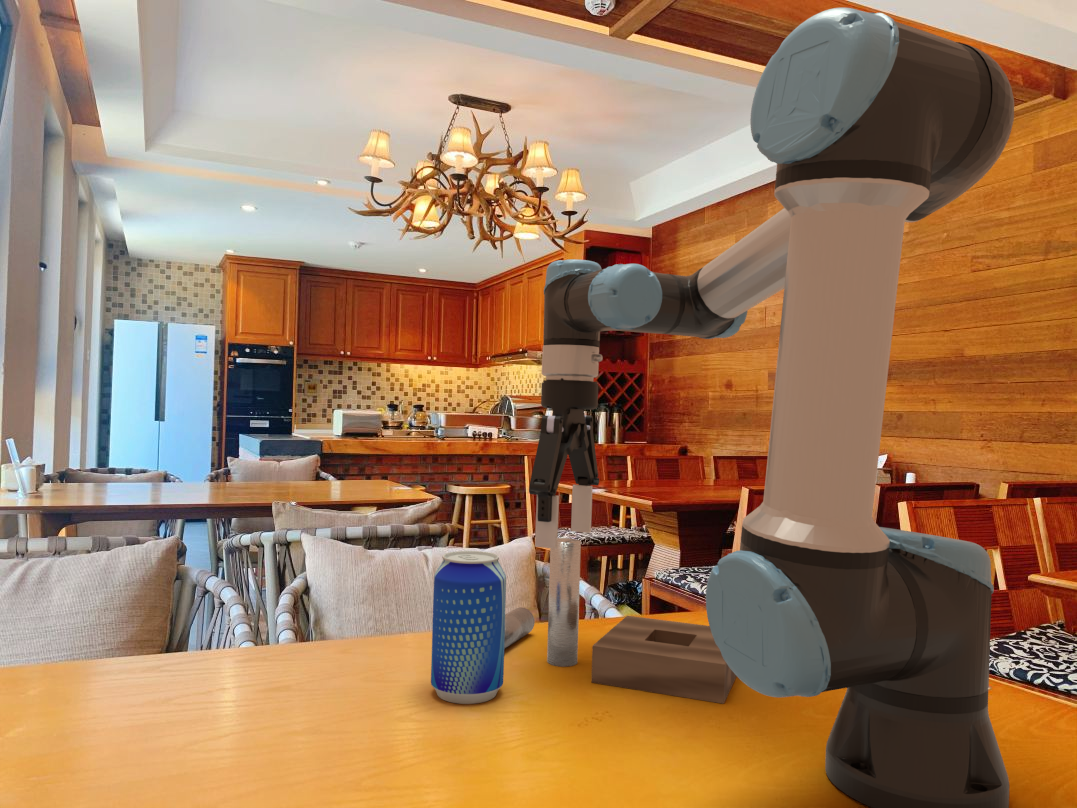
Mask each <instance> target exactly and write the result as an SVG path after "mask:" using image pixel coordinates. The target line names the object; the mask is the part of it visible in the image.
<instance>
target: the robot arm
mask: <svg viewBox="0 0 1077 808" xmlns="http://www.w3.org/2000/svg"><path fill="white" fill-rule="evenodd" d="M753 95H754V96H753V100H752V105H751V110H750V120H749V121H750V133H751V136H752V137H751V138H752V140H753V141H754V142H755V143H756V148H757V149H758V151H759V152H760V153H761V154H762V155H763V156H764V157H766V158H767V160H769V161H770V162H771V163H775V164H776V172H775V173H776V174H775V184H774V185H775V186H774V194H773V195H774V198H775V199H776V200H777V201H778V202H779V203H780V205H781V206H782V207H783V208H782V209H781V210H779V211H778V212H777V213H776V214H774V215H772V216H771V217H770V218H768V219H767V220H766V221H764V222H762V223H761V224H760V225H759V226H758V227H756V228H755V229H753V230H752V231H751V232H749V233H748V234H747V235H745V236H743V237H742V238H740V239H739V240H738V241H737V242H736V243H734V244H733V245H731V246H730V247H729V248H727V249H726V250H725V251H723V252H721V253H720V254H719V255H718V256H717V257H715V258H713V259H712V260H711V261H709V262H708V263H707V264H705V265H704V266H702V267H701V268H699V269H698V270H696V271H695V272H693V274H690V275H681V274H680V275H679V274H670V273H662V272H656V271H655V272H654V271H651V270H650V269H649V268H647V267H646V266H644V265H642V264H639V263H626V264H623V263H618V264H617V263H616V264H614V265H612V266H607V267H605V268H603V269H602V267H601V265H600V264H599V263H598V262H595V261H592V260H588V259H587V260H586V259H574V258H573V259H570V258H569V259H564V260H563V259H562V260H561V259H560V260H554V261H552V262H551V263H549V264H548V266H547V268H546V273H545V284H544V287H543V296H544V297H543V301H544V302H543V340H542V341H543V345H542V355H541V356H542V357H541V374H542V376H544V377H545V380H542V381H543V382H541V388H540V389H541V391H540V395H541V396H540V397H541V398H540V405H541V407H542V408H545V409H552V413H551V414H552V415H544V414H543V415H542V418H541V421H540V422H541V425H540V434H539V439H538V443H537V448H536V453H535V458H534V462H533V467H532V470H531V476H530V479H529V480H530V481H529V486H528V493H529V495H536V506H535V507H536V508H535V511H536V512H535V531H534V532H535V533H534V535H535V536H534V539H535V540H534V547H535V548H546V549H550V548H552V549H556V548H557V541H558V538H559V537H558V536H559V534H558V533H559V512H560V511H559V506H560V495H556V494H557V491H558V488H559V484H560V482H561V478H562V474H563V471H564V469H565V466H566V462H567V459H568V458H569V463H570V466H571V469H572V470H571V471H572V474H573V478H574V481H575V484H572V489H571V490H572V491H571V492H572V493H571V499H572V500H571V517H570V518H571V522H570V524H571V525H570V532H575V533H585V534H590V533H592V515H593V514H592V512H593V486H599V484H600V477H599V471H598V462H597V455H596V454H597V452H596V446H595V437H594V416H593V415H588V414H587V415H586V414H585V410H589V411H590V410H596V409H597V408H598V406H599V405H598V404H599V384H598V383H597V381H594V378H597V377H599V365H600V363H599V362H602V361H603V360H604V359H603V355H602V354H600V347H601V346H600V344H601V343H600V340H601V332H608V331H610V332H611V331H620V332H632V333H633V332H634V333H644V334H645V333H646V334H661V335H671V336H684V337H691V338H692V337H694V338H699V339H704V340H711V339H712V340H713V339H724V338H725V339H726V338H727V339H728V338H729V337H733V336H734V335H736V334H737V333H738V332H739V331H740V328H741V327H742V325H743V324H745V322H746V319H747V316H748V311H749V310H750V309H752V308H754V307H755V306H757V305H759V304H761V303H763V302H764V301H766V300H767V299H769V298H770V297H772V296H774V295H776V294H778V293H779V292H781V291H782V290H784V291H783V297H782V298H783V299H782V307H781V308H782V309H781V320H780V330H779V341H778V349H777V350H778V351H777V358H776V369H775V377H774V379H775V380H774V388H773V390H774V391H773V398H772V400H773V401H772V408H771V419H770V429H769V430H770V431H769V439H768V440H769V441H768V450H767V451H768V452H767V461H766V462H767V463H766V469H765V470H766V471H765V482H764V491H763V501H762V502H761V503H760V505H759V506H758V507H755V509H754V510H753V511H751V512H750V513H749V514H747V515H746V516H745V517H744V518H743V520H742V525H741V533H740V535H741V536H740V543H739V544H740V546H739V550H735V551H733V552H730V553H727V555H725V556H723V557H722V558H719V560H718V562H717V564H716V565H715V566H713V567H712V569H711V571H710V573H709V576H708V578H707V582H706V583H707V584H706V590H705V607H706V609H705V610H706V617H707V621H708V626H710V629H711V633H712V636H713V638H714V641H715V643H716V645H717V646H718V648H719V649H720V651H721V654H722V657H723V659H724V660H725V662H726V663H727V665H728V666H729V668H730V669H731V670H732V671H733V672H734V674H735V675H736V678H738V679H739V680H740V681H741V682H742V683H743V684H745V685H746V686H747V687H748V688H750V689H752V690H753V691H755V692H758V693H759V694H761V695H764V696H767V697H772V698H789V697H804V698H810V697H817V696H819V695H820V694H821V693H824V692H825V693H826V692H830V691H831V692H832V691H837V690H840V689H846V691H845V694H844V696H843V699H842V701H841V705H840V707H839V709H838V713H837V715H836V718H835V721H834V723H833V725H832V727H831V730H830V733H829V736H828V739H827V741H826V746H825V766H824V767H825V773H826V775H827V778H828V779H829V780H830V782H831V783H832V785H834V786H835V787H836V788H838V790H840V791H842V793H844V794H845V795H846V796H849V797H850V798H852V799H853V800H855V801H857V802H859V803H861V804H864V805H866V806H867V807H870V808H1009V806H1010V780H1009V775H1008V772H1007V768H1006V766H1005V763H1004V760H1003V756H1002V753H1001V750H1000V747H999V743H998V741H997V738H996V733H995V732H994V728H993V724H992V722H991V719H990V718H991V717H990V715H989V688H990V687H989V686H990V685H989V684H990V656H991V655H990V650H991V648H990V647H991V622H992V619H991V617H992V616H991V615H992V595H993V594H994V590H995V589H994V588H995V587H994V585H993V583H992V569H991V563H992V562H991V558H990V555H989V553H988V551H987V550H986V549H985V548H984V547H983V546H982V545H979V544H977V543H975V542H972V541H967V540H962V539H958V538H957V539H956V538H951V537H944V536H941V535H934V534H928V533H921V532H916V531H909V530H904V529H903V530H902V529H897V528H890V527H883V526H879V525H878V523H876V522H875V520H874V518H873V510H874V503H875V501H874V500H875V494H876V493H875V492H876V485H877V484H876V483H877V475H878V466H879V465H878V464H879V456H880V450H881V449H880V448H881V441H882V440H881V437H882V430H883V429H882V428H883V423H884V422H883V419H884V411H885V403H886V393H887V386H888V385H887V384H888V376H889V367H890V366H889V365H890V356H891V349H892V339H893V330H894V323H895V313H896V312H895V311H896V304H897V303H896V302H897V293H898V284H899V275H900V267H901V257H902V251H903V250H902V248H903V241H904V239H903V238H904V232H905V224H906V223H915V222H919V221H921V220H923V219H924V218H926V217H928V216H930V215H931V214H933V213H935V212H936V211H938V210H940V209H942V208H943V207H945V206H947V205H949V204H950V203H951V202H953V201H954V200H957V198H959V197H961V196H962V195H963V194H965V193H966V192H967V191H968V190H969V189H971V188H972V187H973V186H975V184H977V183H978V182H979V181H980V180H981V179H983V178H984V177H985V176H986V174H987V173H988V172H989V171H990V170H991V169H992V167H993V166H994V165H995V164H996V163H997V161H998V159H999V158H1000V157H1001V155H1002V154H1003V152H1004V150H1005V148H1006V145H1007V143H1008V142H1009V139H1010V136H1011V133H1012V128H1013V125H1014V120H1015V99H1014V98H1015V97H1014V94H1013V88H1012V85H1011V83H1010V80H1009V78H1008V76H1007V74H1006V73H1005V71H1004V70H1003V69H1002V67H1001V66H1000V64H999V63H998V62H997V61H996V60H995V59H993V57H991V55H989V54H988V53H986V52H984V51H983V50H981V49H979V48H977V47H975V46H972V45H970V44H966V43H963V42H957V41H954V40H952V39H950V38H946V37H942V36H940V35H936V34H933V33H931V32H928V31H925V30H922V29H919V28H917V27H916V28H915V27H913V26H910V25H908V24H905V23H902V22H901V23H900V22H899V21H897V20H896V21H895V19H894V18H892V17H890V16H889V15H886V14H885V13H882V12H876V13H875V12H867V11H862V10H859V9H856V8H852V7H851V8H850V7H833V8H829V9H825V10H823V11H820V12H818V13H816V14H814V15H812V16H810V17H808V18H807V19H806V20H804V21H803V22H801V23H800V24H799V25H798V26H797V27H795V29H793V30H792V31H791V32H790V33H789V34H788V35H787V36H786V37H785V38H784V40H783V41H782V42H781V44H780V46H779V47H778V49H776V52H775V53H774V54H772V55H771V57H770V59H769V60H768V62H767V64H766V65H765V68H764V70H763V71H762V73H761V75H760V78H759V81H758V82H757V86H756V88H755V92H754V94H753Z"/></svg>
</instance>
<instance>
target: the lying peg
mask: <svg viewBox="0 0 1077 808" xmlns="http://www.w3.org/2000/svg"><path fill="white" fill-rule="evenodd" d="M535 622H536V621H535V617H534V615H533V613H532V611H530V610H529V609H528V608H526V607H523V606H519V607H516V608H514V609H512V610H511V611H509V612H507V613H505V640H504V650H505V649H506V648H508V647H509V646H511V645H513V644H515V643H516V642H517V641H519V640H520V639H521V638H523V637H525V636H526V635H528V634H529V633H531V632H532V630H533V629H534V627H535Z"/></svg>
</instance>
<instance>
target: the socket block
mask: <svg viewBox="0 0 1077 808" xmlns="http://www.w3.org/2000/svg"><path fill="white" fill-rule="evenodd" d="M591 649H592V651H591V653H592V655H591V683H592V684H593V683H594V684H598V685H599V684H600V685H605V686H611V687H618V688H625V689H631V690H636V691H643V692H648V693H649V692H650V693H653V694H656V693H657V694H662V695H667V696H673V697H679V698H680V697H681V698H686V699H693V700H700V701H705V702H711V703H717V704H718V703H719V704H722V705H723V704H725V702H726V700H727V698H728V695H729V693H730V691H731V689H732V687H733V684H734V683H735V681H736V678H737V676H736V675H735V674H734V672H733V671H732V670H731V669H730V668H729V666H728V665H727V663H726V662H725V660H724V659H723V657H722V654H721V651H720V649H719V648H718V646H717V645H716V643H715V641H714V638H713V636H712V633H711V629H710V626H709V625H704V624H697V623H696V624H695V623H688V622H682V621H674V620H673V621H672V620H667V619H666V620H664V619H656V618H649V617H641V616H633V615H626V616H625V617H624V618H622V620H620V621H619V622H618V623H617V624H616V625H615V626H613V628H611V629H609V631H608V632H607V633H605V634H603V636H602V637H600V639H598V640H597V641H596V642H595V643H593V645H592V648H591Z"/></svg>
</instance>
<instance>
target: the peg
mask: <svg viewBox="0 0 1077 808" xmlns="http://www.w3.org/2000/svg"><path fill="white" fill-rule="evenodd" d="M581 542H582V541H581V540H580V539H578V538H576V539H575V538H570V537H565V538H564V537H561V538H560V537H558V541H557V548H556V549H552V548H549V549H550V550H549V580H548V584H549V585H548V615H547V616H548V618H547V620H548V621H547V647H546V649H547V651H546V653H547V654H546V656H547V657H546V662H547V663H548V664H549V665H551V666H554V667H562V668H563V667H572V666H575V665H577V664H578V653H579V652H578V651H579V650H578V649H579V618H580V615H579V613H580V610H579V609H580V584H581V583H580V582H581V581H580V578H581V549H582V548H581V545H582V543H581Z"/></svg>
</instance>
